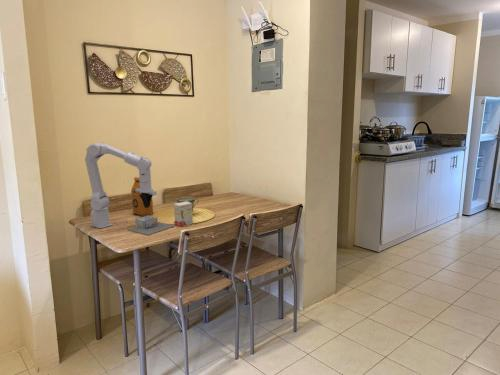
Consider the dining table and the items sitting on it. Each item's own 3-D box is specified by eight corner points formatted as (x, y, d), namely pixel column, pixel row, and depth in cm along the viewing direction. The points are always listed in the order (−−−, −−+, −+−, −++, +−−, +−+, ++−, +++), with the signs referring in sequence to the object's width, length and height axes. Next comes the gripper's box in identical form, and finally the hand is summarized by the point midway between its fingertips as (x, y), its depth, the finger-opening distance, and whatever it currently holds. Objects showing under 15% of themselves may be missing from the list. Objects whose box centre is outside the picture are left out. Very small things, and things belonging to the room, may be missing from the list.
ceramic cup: (181, 218, 210) (180, 201, 209) (175, 214, 219) (174, 198, 217) (202, 215, 217) (201, 198, 215) (195, 211, 225) (195, 195, 223)
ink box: (179, 227, 194) (178, 205, 191) (174, 225, 197) (173, 203, 195) (193, 223, 199) (192, 202, 197) (187, 222, 203) (186, 201, 201)
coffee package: (140, 217, 214) (137, 180, 210) (130, 213, 223) (128, 177, 219) (155, 214, 220) (153, 178, 216) (146, 210, 229) (143, 175, 225)
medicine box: (147, 215, 200) (157, 217, 195) (148, 223, 201) (158, 225, 196) (135, 218, 194) (145, 220, 189) (135, 226, 195) (145, 229, 190)
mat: (127, 230, 190) (127, 229, 190) (154, 222, 204) (154, 221, 204) (148, 235, 181) (148, 234, 181) (175, 226, 195) (175, 225, 195)
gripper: (160, 181, 191) (162, 207, 194) (142, 179, 199) (144, 204, 202) (149, 184, 185) (151, 210, 188) (131, 181, 194) (133, 206, 196)
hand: (147, 207), depth 195 cm, fingers closed
